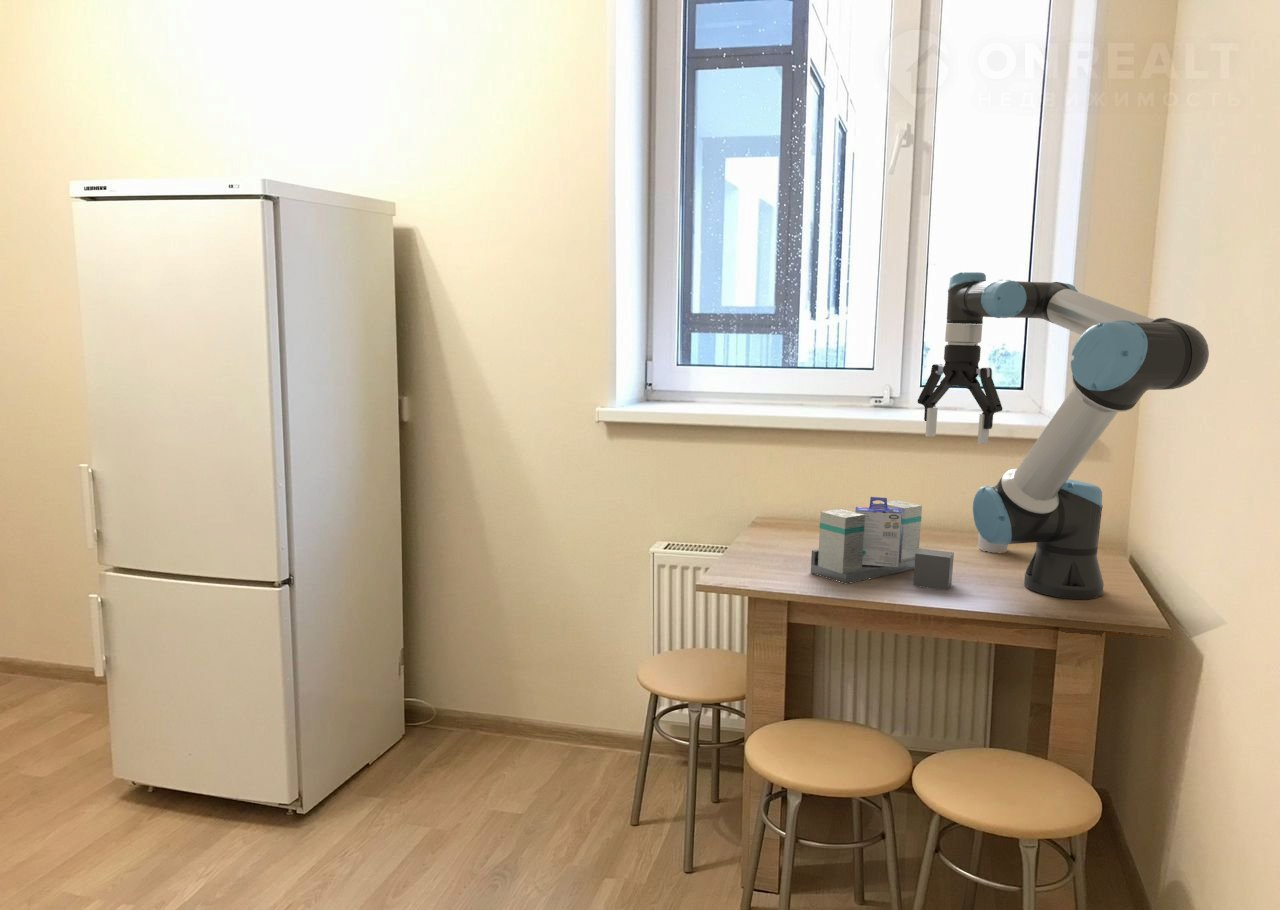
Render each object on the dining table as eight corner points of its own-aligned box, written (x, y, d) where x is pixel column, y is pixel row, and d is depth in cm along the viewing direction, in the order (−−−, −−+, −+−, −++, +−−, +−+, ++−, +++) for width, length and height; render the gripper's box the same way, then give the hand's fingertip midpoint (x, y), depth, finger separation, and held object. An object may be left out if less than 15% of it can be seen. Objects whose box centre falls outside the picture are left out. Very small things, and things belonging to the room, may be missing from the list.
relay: (947, 590, 196) (950, 557, 195) (913, 585, 199) (915, 553, 198) (951, 584, 201) (953, 552, 200) (917, 580, 204) (919, 548, 203)
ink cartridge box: (897, 561, 210) (901, 497, 208) (899, 568, 205) (904, 502, 202) (852, 558, 212) (855, 495, 210) (852, 565, 206) (856, 499, 204)
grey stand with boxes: (921, 567, 214) (925, 506, 212) (845, 584, 199) (849, 518, 197) (886, 557, 222) (889, 498, 219) (810, 572, 207) (813, 510, 205)
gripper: (1024, 346, 200) (1016, 445, 204) (926, 341, 220) (920, 432, 224) (1003, 346, 196) (995, 448, 199) (905, 341, 216) (899, 434, 219)
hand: (955, 440), depth 211 cm, fingers open, 13 cm apart
